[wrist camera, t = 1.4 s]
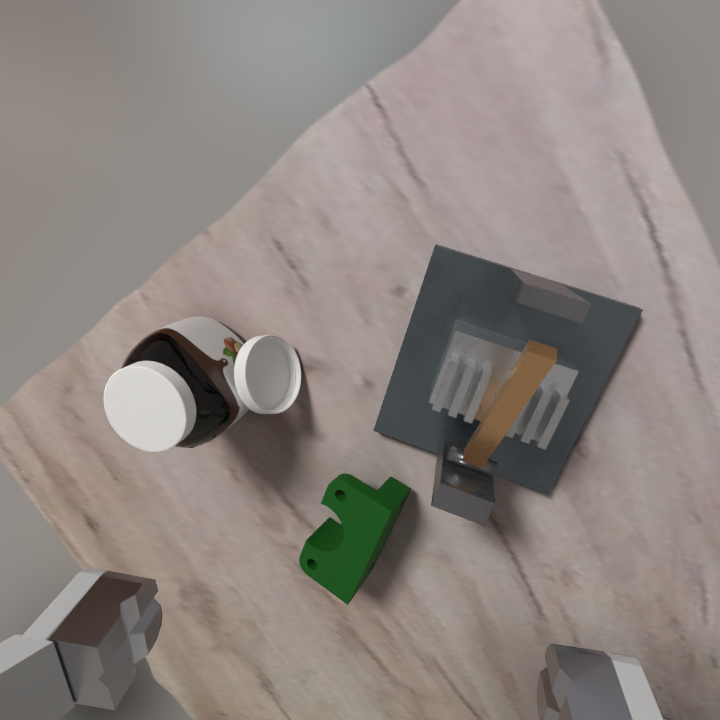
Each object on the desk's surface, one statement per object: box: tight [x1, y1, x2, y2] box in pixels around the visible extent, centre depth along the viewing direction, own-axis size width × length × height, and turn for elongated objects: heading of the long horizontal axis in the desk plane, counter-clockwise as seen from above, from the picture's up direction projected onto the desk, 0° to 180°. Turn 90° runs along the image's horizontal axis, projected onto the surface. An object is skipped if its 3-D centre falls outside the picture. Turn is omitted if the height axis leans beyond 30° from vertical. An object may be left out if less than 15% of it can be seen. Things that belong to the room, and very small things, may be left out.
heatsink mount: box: [374, 244, 642, 526], centre depth 34 cm, size 16×17×10 cm
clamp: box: [299, 474, 411, 605], centre depth 43 cm, size 12×6×9 cm, turn 155°
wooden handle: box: [446, 340, 557, 477], centre depth 31 cm, size 4×13×1 cm, turn 164°
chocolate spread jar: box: [104, 316, 301, 452], centre depth 38 cm, size 12×11×12 cm
